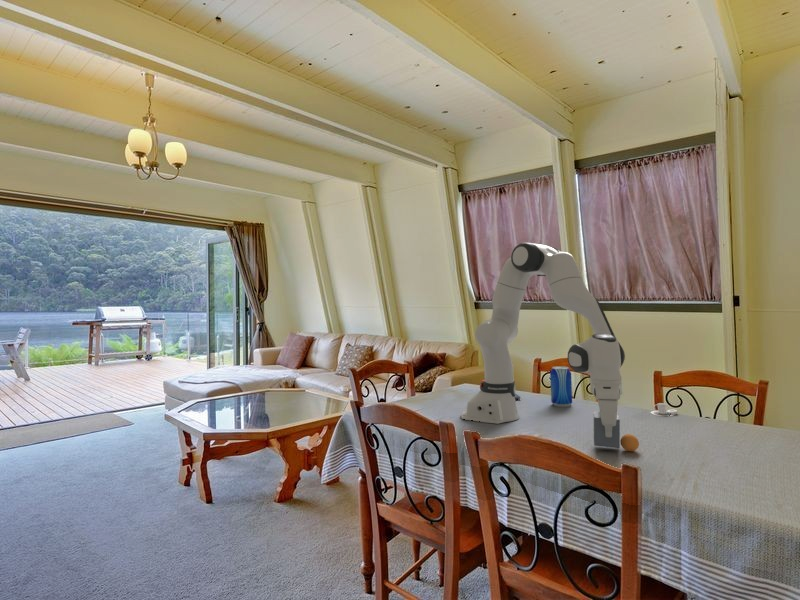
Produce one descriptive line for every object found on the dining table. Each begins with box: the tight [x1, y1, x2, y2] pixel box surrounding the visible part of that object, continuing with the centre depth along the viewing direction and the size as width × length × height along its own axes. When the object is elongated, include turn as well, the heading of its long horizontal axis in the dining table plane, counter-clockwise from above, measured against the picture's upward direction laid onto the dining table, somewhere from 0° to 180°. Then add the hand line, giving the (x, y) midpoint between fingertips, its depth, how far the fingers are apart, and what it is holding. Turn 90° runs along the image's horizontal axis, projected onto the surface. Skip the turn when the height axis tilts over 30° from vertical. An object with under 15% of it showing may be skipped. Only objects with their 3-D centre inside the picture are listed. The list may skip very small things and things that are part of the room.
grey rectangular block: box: [593, 411, 621, 449], centre depth 141 cm, size 7×7×9 cm
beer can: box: [549, 365, 573, 408], centre depth 195 cm, size 8×8×16 cm
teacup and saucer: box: [650, 402, 679, 417], centre depth 176 cm, size 9×8×4 cm
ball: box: [620, 433, 640, 452], centre depth 139 cm, size 5×5×5 cm
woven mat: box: [515, 392, 521, 401], centre depth 211 cm, size 10×11×2 cm
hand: (607, 432), depth 141 cm, fingers closed on grey rectangular block, 7 cm apart
